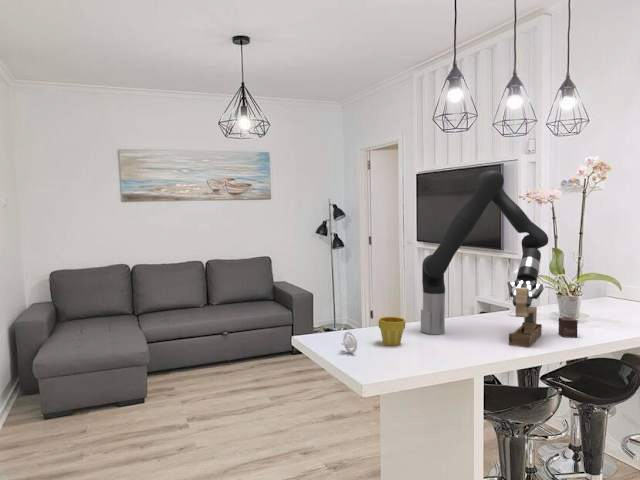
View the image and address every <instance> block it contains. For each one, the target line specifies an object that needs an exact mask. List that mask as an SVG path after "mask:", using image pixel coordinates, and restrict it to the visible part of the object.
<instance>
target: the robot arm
mask: <svg viewBox="0 0 640 480" xmlns="http://www.w3.org/2000/svg"><path fill="white" fill-rule="evenodd" d="M476 181H477V182H476V183H477V188H476V190H475V191H474V193H473V195H472V196H471V197H470V198H469V199H468V200H467V201H466V202H465V203H464V205H462V207H461V208H460V209H459V210H458V211H457V212H456V214H455V215H454V216H453V218H452V219H451V221H450V223H449V224H448V226H447V228H446V231H445V233H444V235H443V238H442V240H441V242H440V243H439V245H438V247H437V248H436V250H435V251H434V252H433V253H432V254H429V255H427V256H426V257H425V258H424V259H423V260H422V266H421V267H422V275H421V276H422V277H421V278H422V279H421V282H422V283H421V284H422V309H421V310H420V332H421V333H424V334H427V335H443V334H445V332H446V331H445V328H446V327H445V325H446V321H445V320H446V319H445V318H446V317H445V316H446V314H445V313H446V286H445V285H446V284H445V273H446V272H447V270H448V267H449V265H450V263H451V262H452V260H453V258H454V256H455V255H456V253H457V251H458V250H459V249H460V248H461V246H462V245H463V243H464V242H465V241H466V240H467V238H468V237H469V236H470V235H471V233H472V231H473V230H474V229H475V227H476V225H477V223H478V222H479V221H480V218H481V217H482V216H483V214H484V212H485V210H486V209H487V207H488V206H489V204H490V203H491V202H493V203H494V204H495V206H496V207H497V208H498V209H499V211H501V213H502V214H503V215H504V217H505V218H506V219H507V221H508V222H509V223H510V225H511V226H512V227H513V229H514V230H515V231H516V233H519V234H525V233H526V234H527V235H524V236H523V237H522V239H521V252H522V256H521V260H520V263H519V265H518V268H519V270H518V274H517V279H516V281H515V282H513V283H512V282H511V281H507V282H506V283H507V287H508V293H509V297H511V298H512V297H513V301H512V300H511V303H512V302H513V304H514V306H516V291H515V292H513V291H512V289H513V287H514V286H516V287H517V288H518V287H524V288H529V292H528V295H529V296H528V298H527V302H526V306H527V307H529V306H531V307H532V301H533V300H534V299H535V300H538V298H540V296H541V294H542V292H543V291H544V289H545V288H544V284H543V283H540V284H539V283H537V282H538V277H539V273H540V263H541V258H542V254H541V251H540V250H539V249H541V248H544V247H546V246H548V244H549V237H548V235H547V233H546V232H545V230H543V229H542V228H541V227H539V226H538V225H536V224H535V223H534V222H533V221H532V220H531V219H530V218H529V216H528V215H527V214H526V213H525V212H524V211H523V209H522V208H521V207H520V206H519V205H518V204H517V203H516V202H515V201H514V200H513V199H511V197H510V196H509V195H508V194H507V193H506V191H505V190H504V189H503V186H504V183H505V180H504V175H503V173H501V172H500V171H498V170H486V171H483V172H482V173H481V174H479V175H478V177H477V180H476ZM535 289H536V290H535ZM533 290H535V291H534V293H533Z"/></svg>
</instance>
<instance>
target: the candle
mask: <svg viewBox="0 0 640 480" xmlns="http://www.w3.org/2000/svg"><path fill="white" fill-rule="evenodd" d="M518 270H519V265H516V268H515V270H514V271H512V272H511V273H512V274H511V275H512V276H511V277H512V280H511V281H512V282H511V283H513V282H515V281H516V279H517V274H518ZM516 288H517V287H516V286H514V287H513V289H512V291H513V292H515V291H516ZM512 301H513V297H511V312H509V313H508V316H510V317H516V306H514V304H513V302H512ZM516 318H517V317H516Z"/></svg>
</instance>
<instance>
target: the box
mask: <svg viewBox="0 0 640 480" xmlns="http://www.w3.org/2000/svg"><path fill="white" fill-rule="evenodd" d="M557 333H558V335H559V336H561V337H562V338H575V339H576V338H578V320H577V319H576V318H575V317H572V316H571V317H570V316H569V317H567V316H566V317H565V316H560V317H558V332H557Z"/></svg>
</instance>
